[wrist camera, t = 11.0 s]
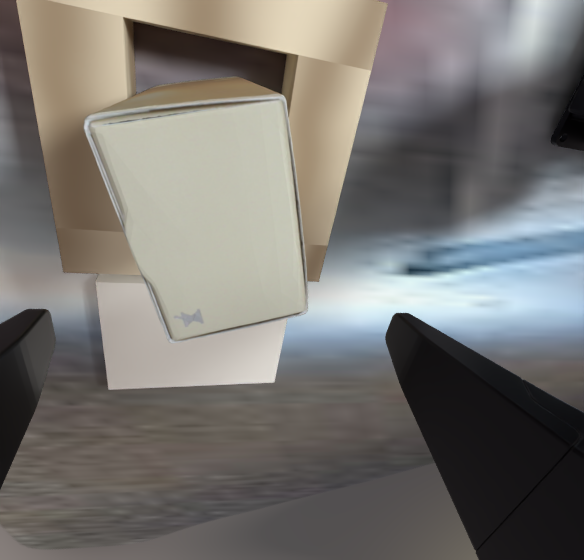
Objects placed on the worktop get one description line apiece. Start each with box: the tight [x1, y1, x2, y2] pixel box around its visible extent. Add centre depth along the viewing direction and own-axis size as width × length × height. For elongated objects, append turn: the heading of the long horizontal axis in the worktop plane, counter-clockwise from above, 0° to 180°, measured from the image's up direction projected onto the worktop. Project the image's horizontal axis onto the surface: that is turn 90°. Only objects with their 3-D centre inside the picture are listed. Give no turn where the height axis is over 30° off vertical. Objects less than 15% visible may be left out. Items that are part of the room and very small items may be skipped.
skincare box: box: [83, 76, 308, 344], centre depth 14 cm, size 6×4×12 cm
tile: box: [95, 274, 288, 390], centre depth 25 cm, size 12×9×1 cm
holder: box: [16, 0, 388, 282], centre depth 18 cm, size 14×14×2 cm
